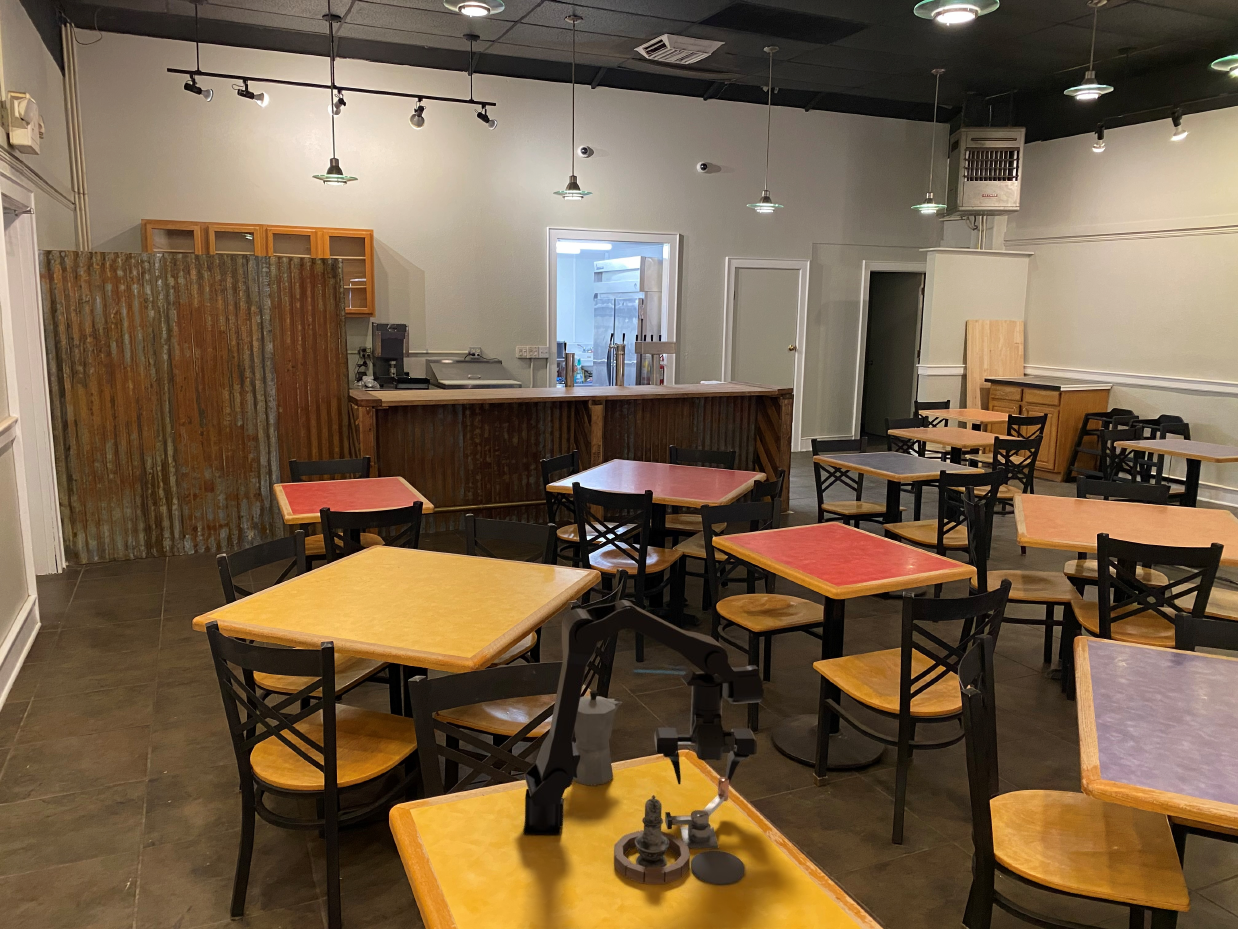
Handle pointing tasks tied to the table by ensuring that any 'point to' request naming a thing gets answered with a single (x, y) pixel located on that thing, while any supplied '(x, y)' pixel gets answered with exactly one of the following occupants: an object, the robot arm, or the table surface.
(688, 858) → the socket ring
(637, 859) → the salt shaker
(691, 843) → the pivot block
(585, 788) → the table surface
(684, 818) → the clamp
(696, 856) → the pad
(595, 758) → the coffeepot
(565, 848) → the table surface
